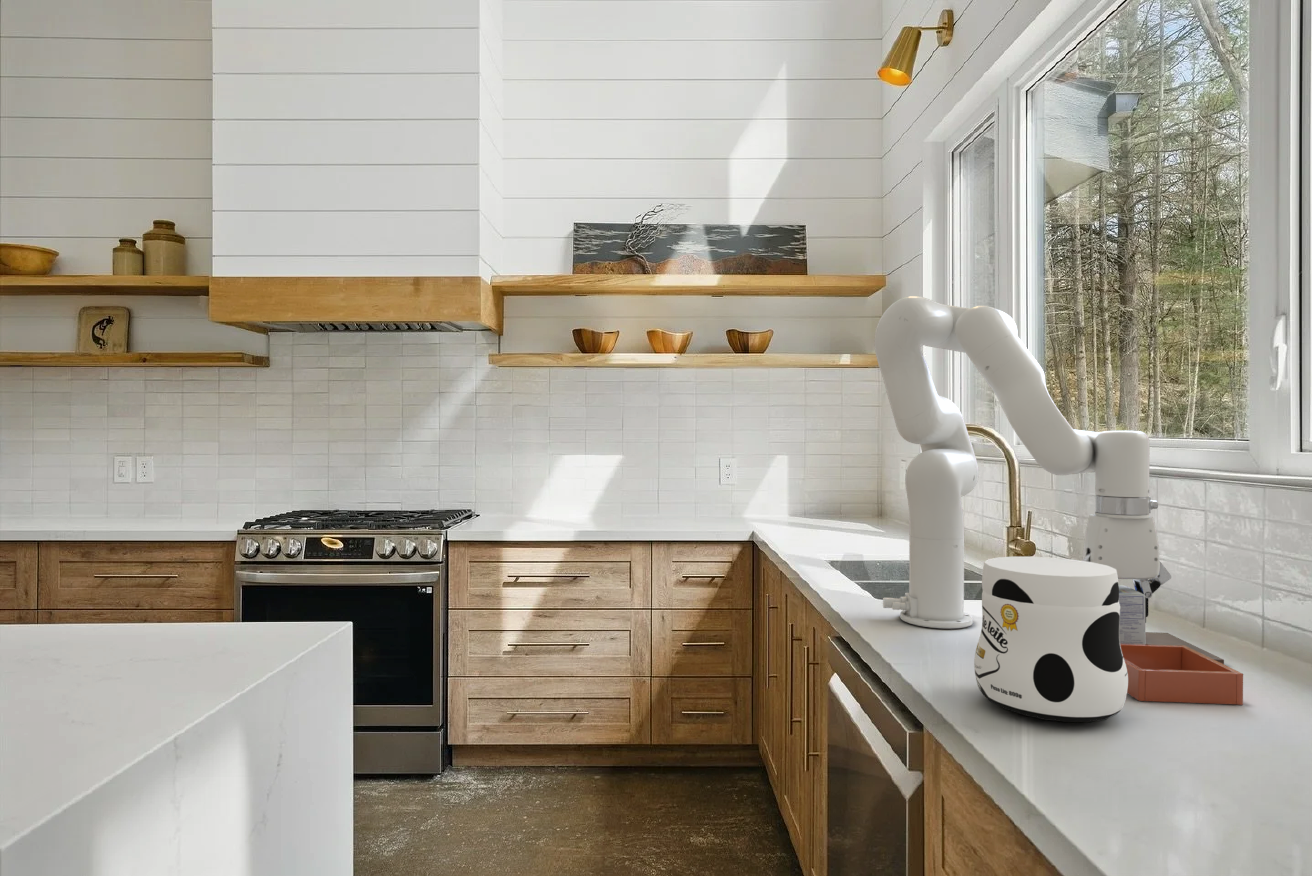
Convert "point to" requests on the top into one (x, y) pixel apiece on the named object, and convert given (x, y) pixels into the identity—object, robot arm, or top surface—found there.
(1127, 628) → the medicine box
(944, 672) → the top surface
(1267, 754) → the top surface
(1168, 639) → the walnut board
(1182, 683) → the orange hollow square frame
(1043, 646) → the milk container
